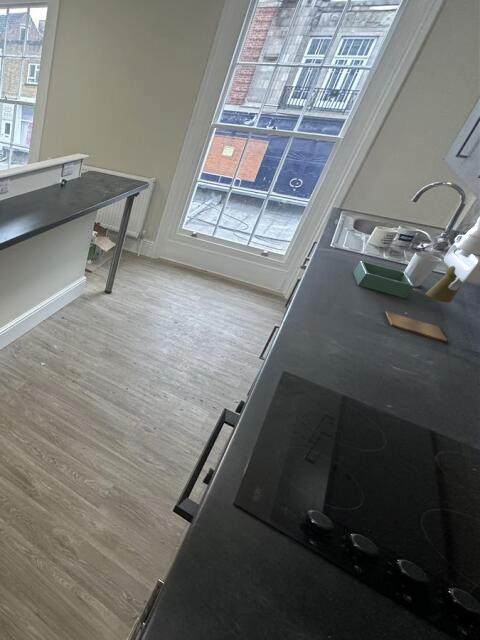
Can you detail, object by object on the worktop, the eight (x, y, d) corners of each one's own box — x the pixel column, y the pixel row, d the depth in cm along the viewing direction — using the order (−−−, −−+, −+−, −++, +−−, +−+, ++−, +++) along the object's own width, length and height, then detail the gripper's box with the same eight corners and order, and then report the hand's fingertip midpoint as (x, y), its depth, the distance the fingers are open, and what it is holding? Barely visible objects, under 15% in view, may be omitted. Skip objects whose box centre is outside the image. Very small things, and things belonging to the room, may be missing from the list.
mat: (437, 328, 137) (438, 326, 137) (446, 342, 130) (447, 340, 130) (384, 312, 143) (386, 311, 143) (390, 325, 136) (391, 324, 136)
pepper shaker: (425, 296, 130) (449, 266, 125) (425, 290, 134) (448, 261, 128) (451, 304, 127) (477, 274, 121) (450, 298, 130) (475, 269, 125)
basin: (397, 283, 165) (405, 272, 162) (405, 298, 154) (414, 286, 151) (353, 272, 171) (360, 260, 169) (358, 285, 161) (366, 273, 158)
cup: (404, 285, 164) (424, 259, 158) (391, 276, 171) (410, 251, 165) (426, 288, 163) (447, 263, 157) (413, 279, 170) (432, 254, 163)
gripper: (510, 261, 112) (473, 302, 119) (482, 239, 127) (452, 277, 134) (478, 254, 115) (445, 295, 122) (455, 233, 129) (426, 270, 137)
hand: (448, 285), depth 128 cm, fingers closed on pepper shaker, 4 cm apart
